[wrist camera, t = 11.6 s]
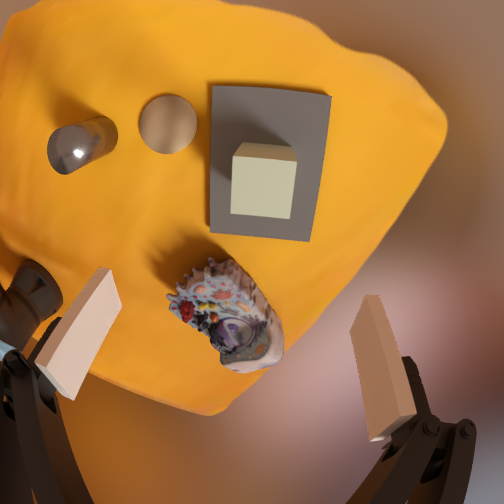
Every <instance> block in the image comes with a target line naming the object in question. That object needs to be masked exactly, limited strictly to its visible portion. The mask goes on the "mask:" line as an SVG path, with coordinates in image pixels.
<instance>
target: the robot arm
mask: <svg viewBox="0 0 504 504" xmlns="http://www.w3.org/2000/svg"><path fill="white" fill-rule="evenodd" d="M62 304H63V297H62V294H61V291H60V289H59V287H58V285H57V283H56V282H55V280H54V279H53V278H52V276H51V275H50V274H49V273H48V272H47V271H46V270H45V269H44V268H43V267H42V266H41V265H39V264H38V263H36V262H34V261H32V260H25V261H24V262H23V263H22V264H21V265H20V266H19V267H18V269H17V271H16V273H15V275H14V277H13V280H12V282H11V284H10V286H9V288H8V289H7V290H6V291H5V290H4V288H3V287H2V285H1V283H0V360H1V361H2V362H1V361H0V504H34V501H33V495H32V489H33V492H34V495H35V498H36V500H37V503H38V504H94V502H93V500H92V498H91V496H90V494H89V492H88V490H87V487H86V485H85V483H84V480H83V478H82V476H81V473H80V471H79V468H78V466H77V463H76V460H75V458H74V455H73V452H72V449H71V446H70V443H69V440H68V437H67V434H66V430H65V427H64V423H63V420H62V416H61V412H60V408H59V404H58V399H57V396H56V394H55V391H56V390H58V391H59V392H60V393H61V394H62V395H63V396H65V397H67V398H69V399H72V400H74V399H75V397H76V395H77V393H78V391H79V388H80V386H81V384H82V382H83V380H84V378H85V376H86V374H87V372H88V370H89V368H90V365H91V363H92V361H93V360H94V358H95V356H96V354H97V352H98V350H99V348H100V346H101V344H102V342H103V340H104V338H105V337H106V335H107V333H108V331H109V329H110V327H111V326H112V324H113V322H114V320H115V318H116V317H117V315H118V313H119V311H120V310H121V308H122V305H121V302H120V299H119V296H118V292H117V289H116V286H115V283H114V279H113V276H112V272H111V269H107V268H100V267H99V269H98V270H97V271H96V272H95V274H94V275H93V276H92V277H91V279H90V280H89V281H88V283H87V284H86V285H85V287H84V288H83V289H82V291H81V292H80V293H79V295H78V296H77V297H76V299H75V300H74V302H73V303H72V304H71V306H70V307H69V309H68V310H67V311H66V313H65V314H64V316H63V317H57V318H56V319H55V320H54V321H52V322H51V323H50V325H49V326H48V328H47V329H46V332H44V334H43V335H42V338H40V340H39V342H38V343H37V345H36V346H35V348H34V349H33V351H32V353H31V354H30V356H29V358H28V359H27V360H26V358H25V357H24V356H23V354H22V351H23V349H24V348H25V346H26V344H27V343H28V341H29V340H30V338H31V337H32V335H33V334H34V332H35V331H36V329H37V328H38V326H39V325H40V323H41V322H43V321H44V320H46V319H47V318H49V317H50V316H52V315H53V314H55V313H56V312H57V311H58V310H59V309H60V307H61V306H62ZM350 334H351V339H352V343H353V348H354V352H355V358H356V362H357V368H358V373H359V378H360V384H361V389H362V395H363V401H364V407H365V414H366V421H367V428H368V435H369V441H377V440H383V439H386V438H387V437H388V436H390V435H391V438H392V440H391V441H390V442H388V443H387V444H386V445H384V447H382V449H385V448H386V449H385V451H384V452H383V454H382V456H381V457H380V458H379V460H378V461H377V463H376V464H375V466H374V467H373V469H372V470H371V472H370V473H369V474H368V476H367V477H366V478H365V480H364V481H363V483H362V484H361V485H360V486H359V488H358V489H357V490H356V492H355V493H354V494H353V495H352V497H351V498H350V499H349V500H348V501H347V503H346V504H405V503H406V502H407V500H408V502H407V504H463V503H464V499H465V495H466V492H467V488H468V483H469V478H470V474H471V469H472V463H473V457H474V450H475V442H476V433H477V432H476V427H475V424H474V423H473V422H472V421H471V420H469V419H463V420H461V421H459V422H458V423H457V424H452V423H444V422H441V421H440V420H439V418H437V417H436V416H435V415H432V414H431V411H430V408H429V405H428V401H427V397H426V394H425V391H424V387H423V384H422V381H421V378H420V376H419V371H418V368H417V366H416V364H415V362H414V361H413V360H412V359H411V357H410V356H406V357H401V355H400V352H399V350H398V346H397V343H396V340H395V337H394V334H393V332H392V329H391V326H390V324H389V321H388V318H387V315H386V313H385V310H384V307H383V305H382V302H381V300H380V297H379V295H365V297H364V299H363V302H362V305H361V307H360V309H359V312H358V314H357V316H356V319H355V321H354V323H353V325H352V328H351V330H350ZM4 396H5V397H6V401H5V402H4V401H3V398H4ZM31 486H32V489H31ZM408 498H409V499H408Z"/></svg>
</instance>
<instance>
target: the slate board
mask: <svg viewBox="0 0 504 504" xmlns="http://www.w3.org/2000/svg"><path fill="white" fill-rule="evenodd" d="M331 99H332V96H328V95H322V94H315V93H309V92H302V91H294V90H285V89H275V88H262V87H245V86H213V87H212V110H211V141H210V232H212V233H223V234H234V235H244V236H255V237H265V238H275V239H285V240H295V241H305V242H309V241H310V236H311V231H312V226H313V220H314V215H315V209H316V204H317V198H318V192H319V186H320V180H321V174H322V167H323V160H324V154H325V147H326V139H327V132H328V124H329V116H330V108H331ZM242 142H247V143H261V144H272V145H282V146H291V147H292V148H293V151H294V154H295V157H296V160H297V167H296V175H295V183H294V190H293V198H292V205H291V212H290V219H283V218H274V217H264V216H253V215H242V214H231V187H232V162H233V155H234V154H235V152H236V151H237V149H238V148H239V146H240V145H241V144H242Z"/></svg>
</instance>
